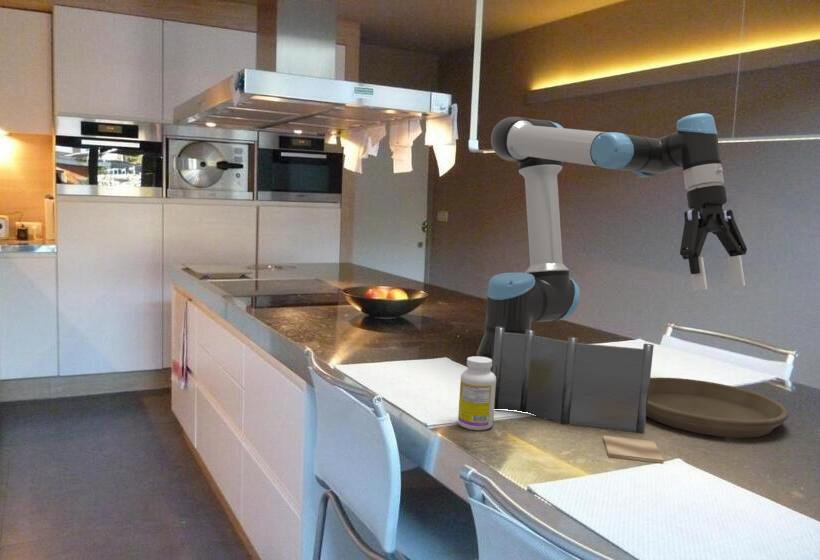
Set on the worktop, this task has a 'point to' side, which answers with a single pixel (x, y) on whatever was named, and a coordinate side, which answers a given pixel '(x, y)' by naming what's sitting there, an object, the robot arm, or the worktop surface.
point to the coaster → (632, 449)
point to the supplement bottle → (477, 394)
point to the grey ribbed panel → (572, 380)
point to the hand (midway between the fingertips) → (720, 288)
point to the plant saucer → (712, 408)
